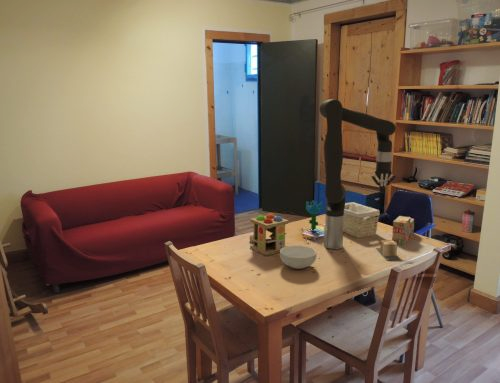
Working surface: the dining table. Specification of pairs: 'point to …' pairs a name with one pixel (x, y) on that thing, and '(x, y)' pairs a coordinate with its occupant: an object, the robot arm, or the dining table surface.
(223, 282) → the dining table surface
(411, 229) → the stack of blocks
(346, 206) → the storage basket
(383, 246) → the cube
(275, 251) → the pounding bench toy
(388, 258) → the mat
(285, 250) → the cereal bowl
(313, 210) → the toy flower
